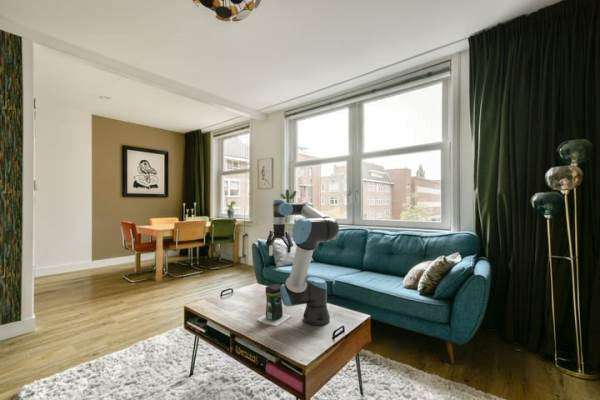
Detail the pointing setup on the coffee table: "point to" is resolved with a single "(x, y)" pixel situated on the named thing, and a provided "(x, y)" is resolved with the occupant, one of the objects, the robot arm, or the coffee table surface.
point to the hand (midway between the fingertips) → (279, 256)
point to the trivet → (274, 322)
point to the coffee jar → (273, 302)
